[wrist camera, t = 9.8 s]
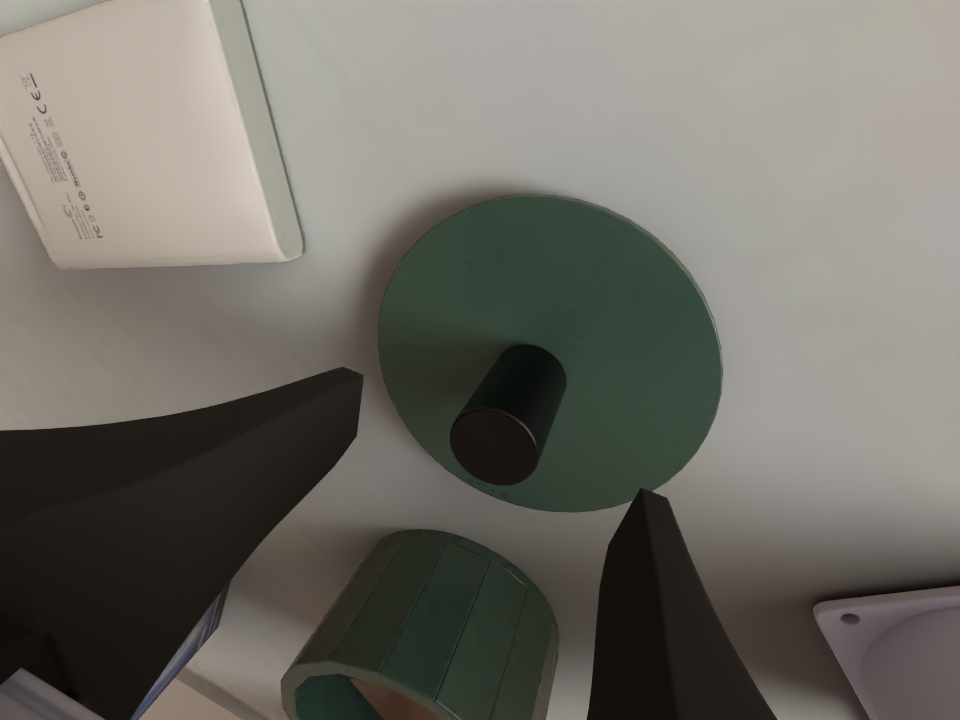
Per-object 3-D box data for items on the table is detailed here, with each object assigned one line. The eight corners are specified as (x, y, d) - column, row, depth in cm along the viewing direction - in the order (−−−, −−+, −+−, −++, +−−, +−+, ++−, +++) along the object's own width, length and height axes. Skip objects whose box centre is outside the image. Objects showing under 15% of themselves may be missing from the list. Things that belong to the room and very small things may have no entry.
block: (462, 579, 22) (420, 672, 18) (512, 645, 23) (482, 747, 19) (396, 592, 24) (347, 678, 20) (444, 652, 25) (405, 745, 21)
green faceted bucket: (481, 507, 20) (412, 651, 15) (599, 674, 22) (578, 855, 17) (329, 552, 25) (237, 671, 20) (437, 684, 27) (380, 825, 22)
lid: (607, 105, 12) (577, 97, 8) (782, 441, 15) (830, 574, 10) (338, 298, 18) (235, 354, 14) (494, 520, 20) (449, 628, 16)
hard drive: (311, 253, 18) (90, 263, 22) (241, -21, 14) (-5, 54, 18) (281, 264, 16) (52, 272, 20) (194, -36, 13) (-59, 49, 17)
